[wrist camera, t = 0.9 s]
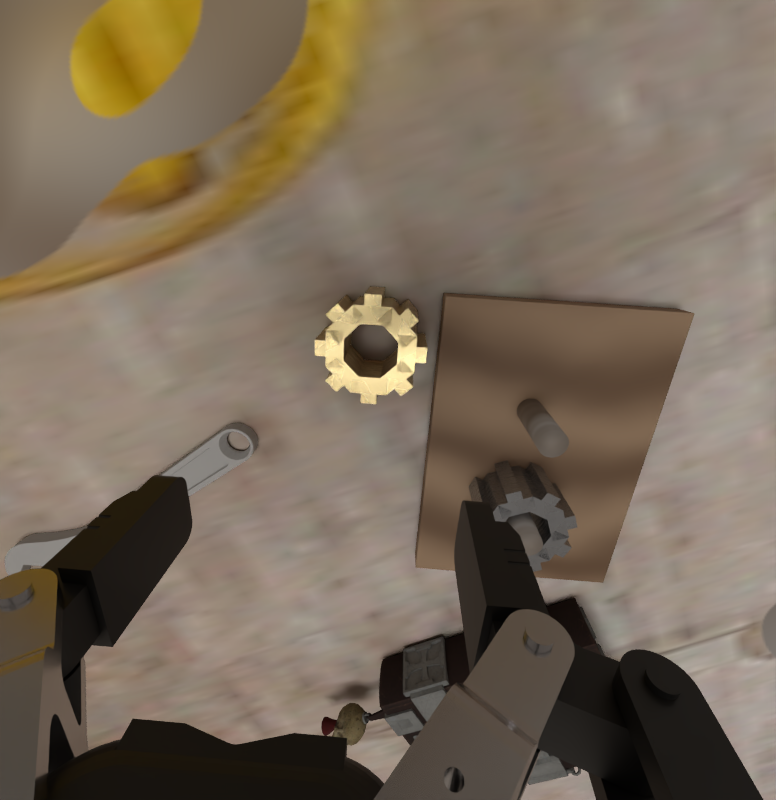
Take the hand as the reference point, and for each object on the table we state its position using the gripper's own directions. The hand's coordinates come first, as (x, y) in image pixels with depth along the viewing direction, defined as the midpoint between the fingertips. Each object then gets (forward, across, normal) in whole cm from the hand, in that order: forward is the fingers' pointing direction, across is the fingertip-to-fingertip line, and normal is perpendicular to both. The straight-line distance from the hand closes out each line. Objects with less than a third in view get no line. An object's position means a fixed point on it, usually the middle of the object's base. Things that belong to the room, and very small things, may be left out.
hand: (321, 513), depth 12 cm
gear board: (+16, -11, +6) cm, 20 cm away
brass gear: (+16, 0, -1) cm, 16 cm away
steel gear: (+14, -10, +9) cm, 20 cm away
